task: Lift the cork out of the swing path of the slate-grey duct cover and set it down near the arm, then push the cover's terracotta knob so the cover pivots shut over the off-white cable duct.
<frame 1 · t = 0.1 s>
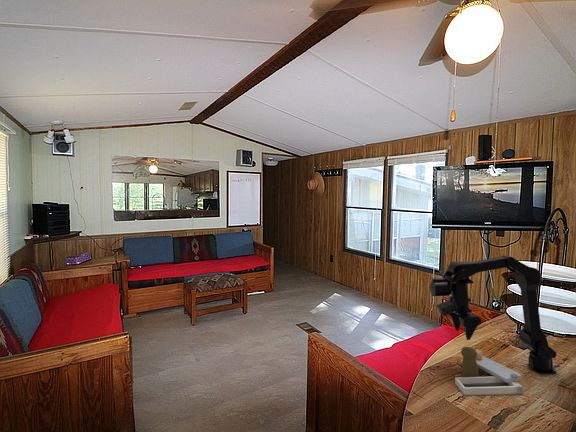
hand: (462, 334, 123), 15 cm above the table, fingers open, 9 cm apart
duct: (487, 389, 111), on the table
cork: (470, 377, 119), on the table
cover: (493, 364, 118), point 5 cm above the table, hinge at -70.0°
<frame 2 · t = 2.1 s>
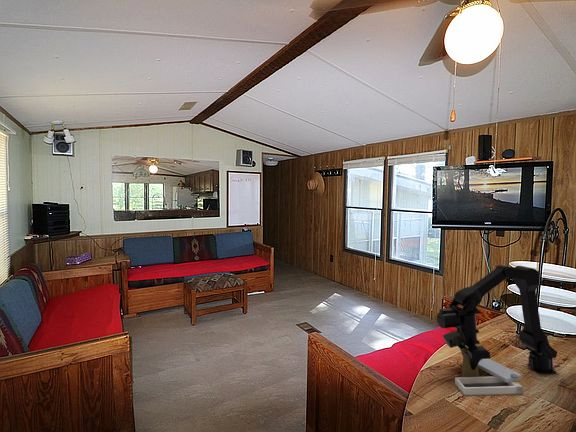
hand: (469, 366, 119), 4 cm above the table, fingers closed on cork, 4 cm apart
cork: (470, 377, 119), on the table, touching gripper
everything else where it was.
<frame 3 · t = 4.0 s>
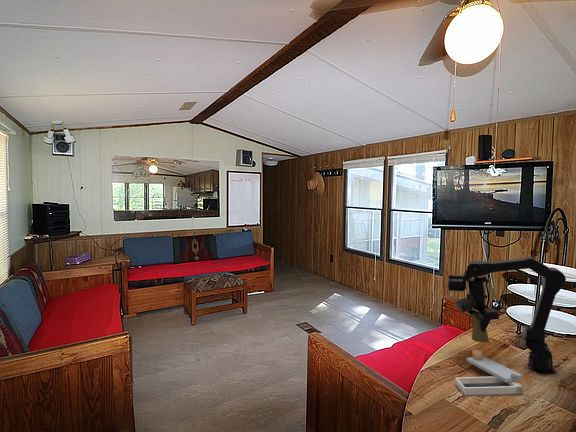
hand: (479, 329, 131), 13 cm above the table, fingers closed on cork, 4 cm apart
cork: (480, 339, 131), point 9 cm above the table, touching gripper
everything else where it was.
when the fingers open (5 cm above the table, at t = 5.9 s): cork stays where it is, on the table.
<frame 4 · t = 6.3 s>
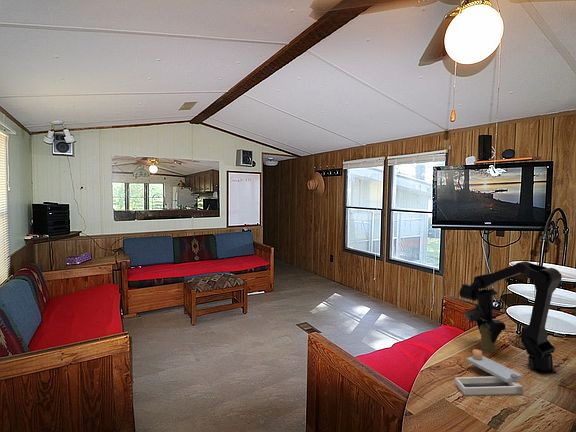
hand: (487, 338, 140), 5 cm above the table, fingers open, 9 cm apart
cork: (488, 350, 140), on the table
everything else where it was.
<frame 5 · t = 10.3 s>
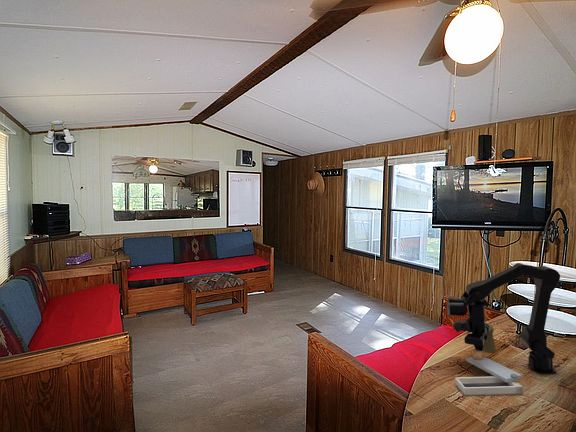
hand: (478, 354, 127), 4 cm above the table, fingers closed
cover: (493, 364, 118), point 5 cm above the table, hinge at -69.8°, touching gripper
everything else where it was.
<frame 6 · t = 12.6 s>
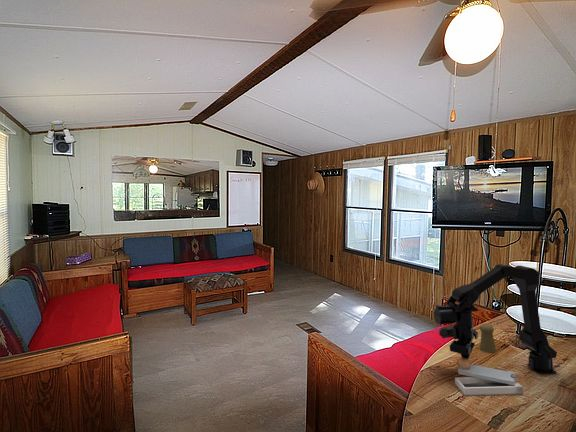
hand: (465, 362, 121), 5 cm above the table, fingers closed
cover: (486, 369, 115), point 5 cm above the table, hinge at -29.9°, touching gripper
everything else where it was.
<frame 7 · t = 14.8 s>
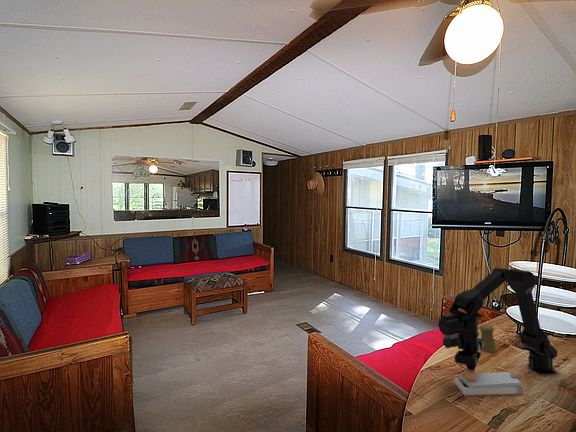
hand: (471, 373, 113), 5 cm above the table, fingers closed
cover: (490, 375, 110), point 5 cm above the table, hinge at 3.1°, touching gripper
everything else where it was.
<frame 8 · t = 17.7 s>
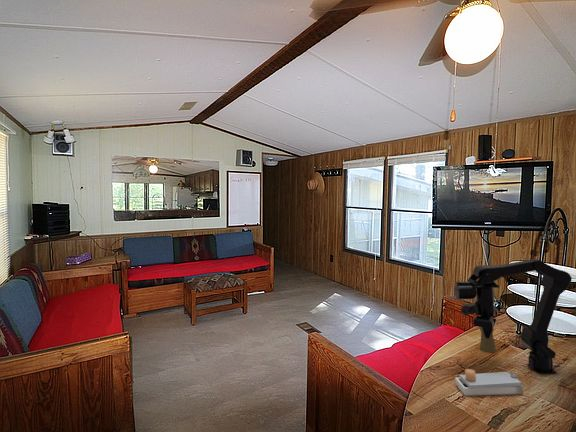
hand: (487, 338, 124), 12 cm above the table, fingers closed
cover: (490, 375, 110), point 5 cm above the table, hinge at 3.2°
everything else where it was.
at the end: cover at +3° (first picture: -70°); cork inside the target area (0.1 cm from its centre), on the table; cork tilted 0° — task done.
